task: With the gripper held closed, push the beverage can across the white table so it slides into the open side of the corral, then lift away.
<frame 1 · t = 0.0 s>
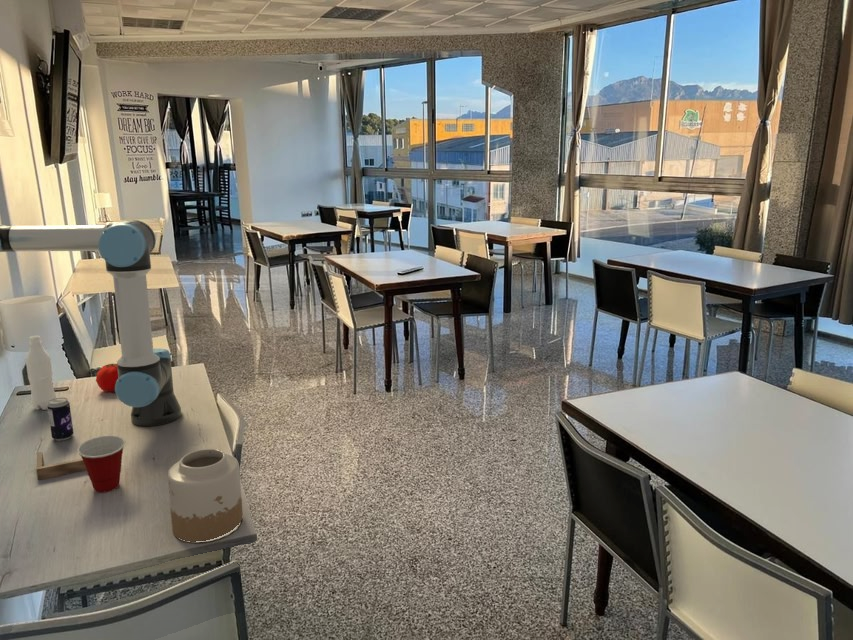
corral: (64, 464, 167), on the table
plastic cup: (106, 488, 156), on the table
water bottle: (45, 408, 207), on the table
tomato: (115, 390, 225), on the table
vase: (208, 525, 140), on the table
beverage can: (63, 438, 184), on the table
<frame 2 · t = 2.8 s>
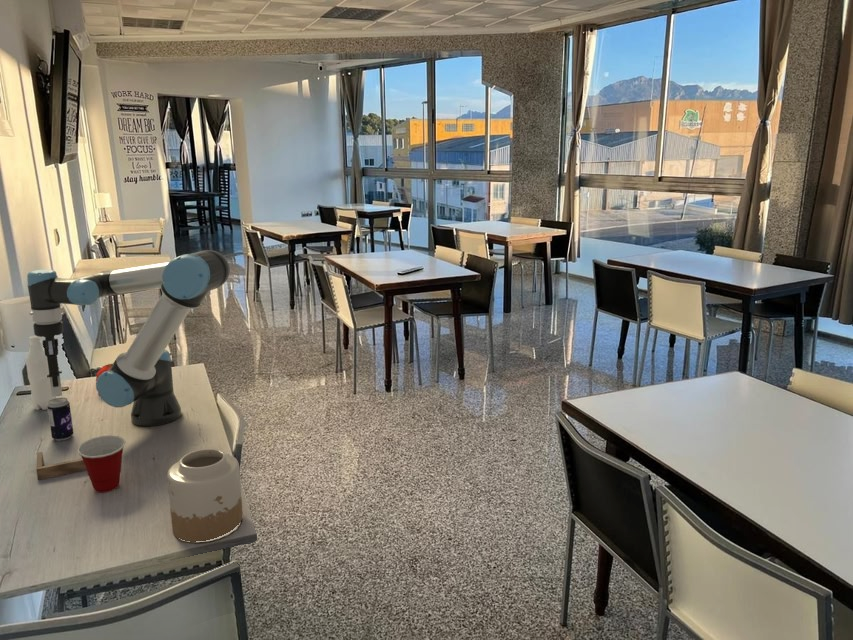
hand: (57, 395, 188), 11 cm above the table, fingers closed
nothing on the table moved.
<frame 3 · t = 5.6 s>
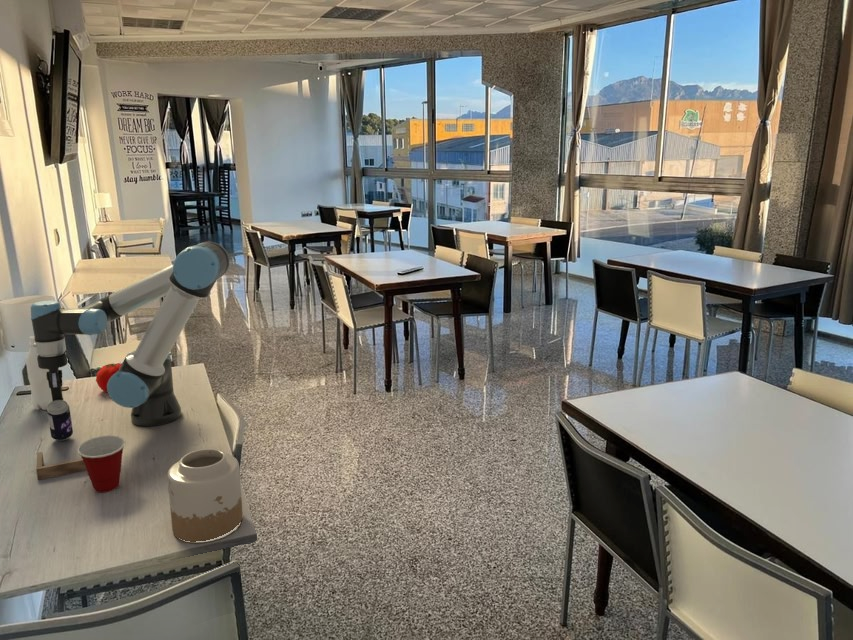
hand: (61, 427, 185), 3 cm above the table, fingers closed
beverage can: (62, 436, 183), point 1 cm above the table, touching gripper
everything else where it was.
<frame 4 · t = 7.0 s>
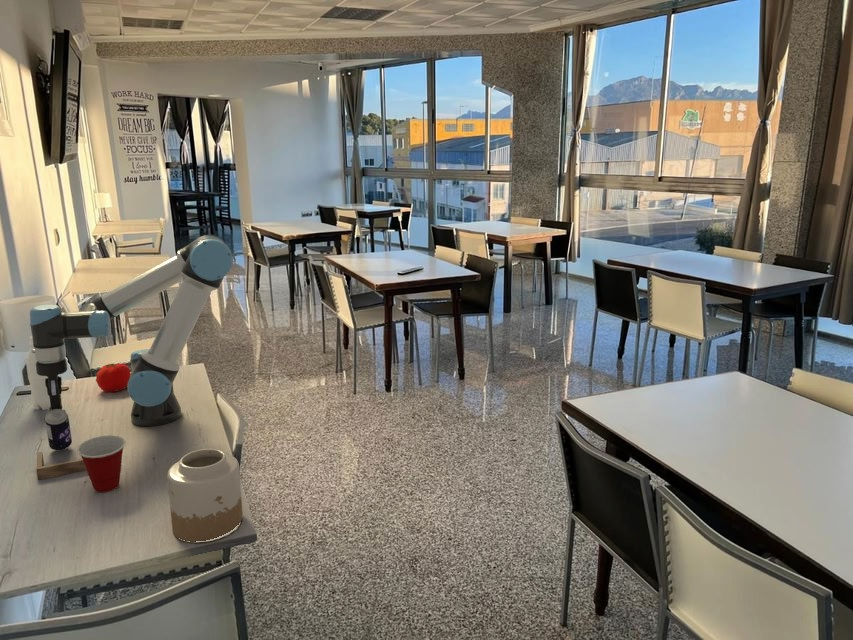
hand: (60, 435, 179), 3 cm above the table, fingers closed
beverage can: (61, 445, 177), point 1 cm above the table, touching gripper, hand
everything else where it was.
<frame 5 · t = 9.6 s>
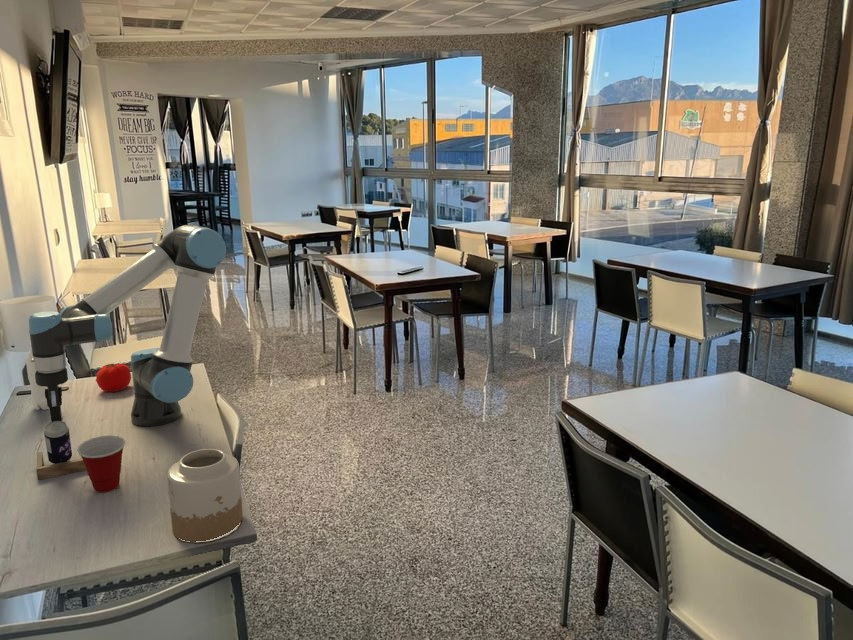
hand: (60, 448, 170), 3 cm above the table, fingers closed
beverage can: (60, 459, 169), point 1 cm above the table, touching gripper, hand
everything else where it was.
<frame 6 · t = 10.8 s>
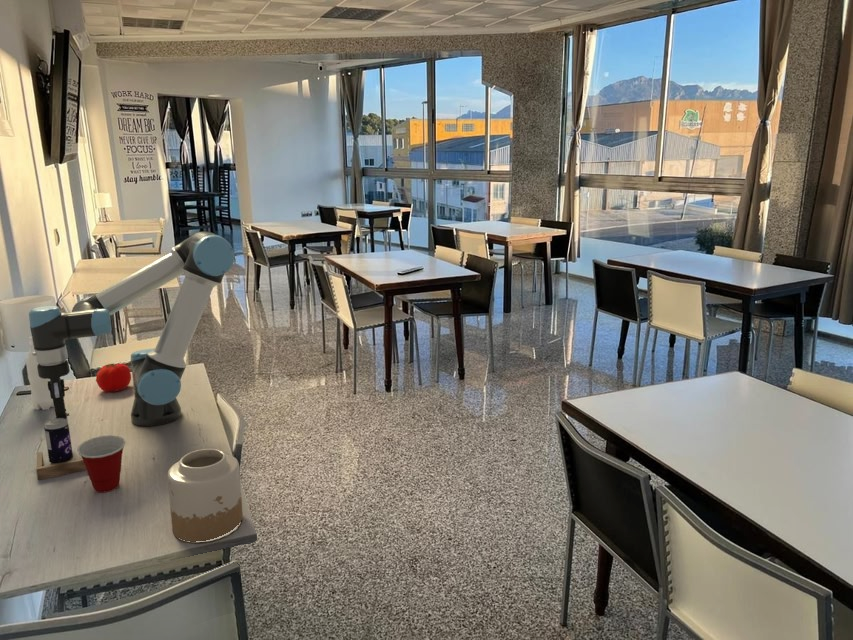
hand: (65, 439, 175), 3 cm above the table, fingers closed
beverage can: (61, 462, 169), on the table
everything else where it was.
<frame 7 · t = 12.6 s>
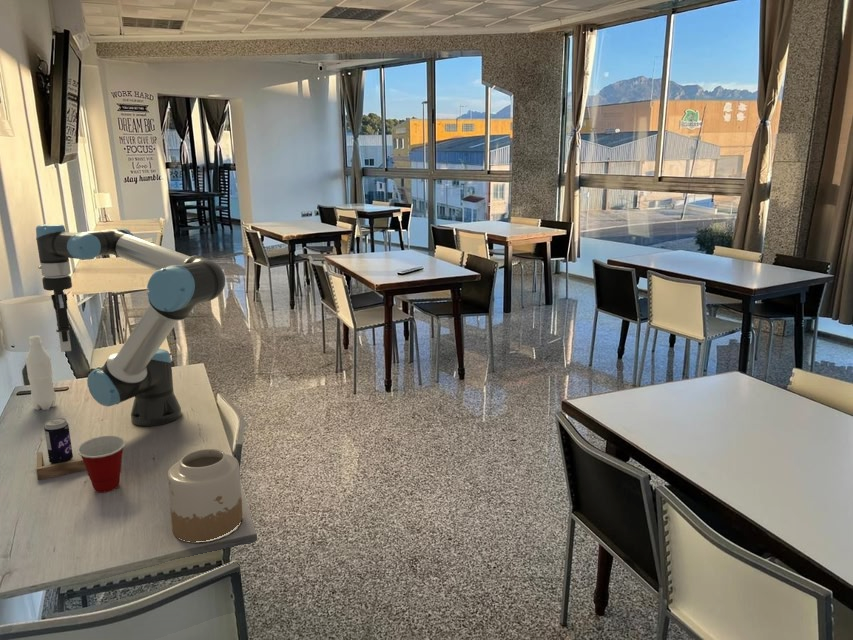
hand: (66, 350, 189), 24 cm above the table, fingers closed
nothing on the table moved.
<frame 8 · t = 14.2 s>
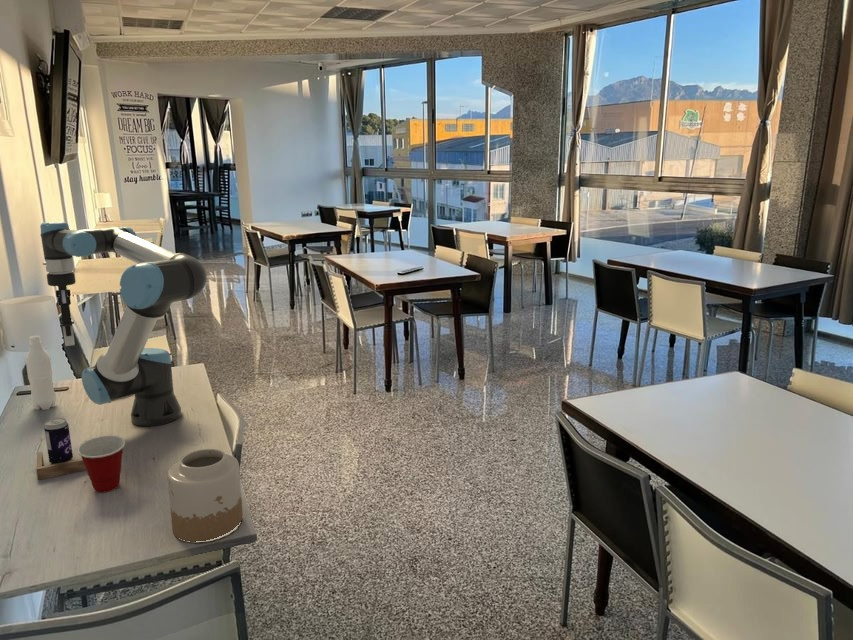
hand: (70, 345, 194), 24 cm above the table, fingers closed
nothing on the table moved.
at the end: beverage can inside the target area on the corral (2.6 cm from its centre), point 0.0 cm above the corral's base; beverage can tilted 0° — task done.
